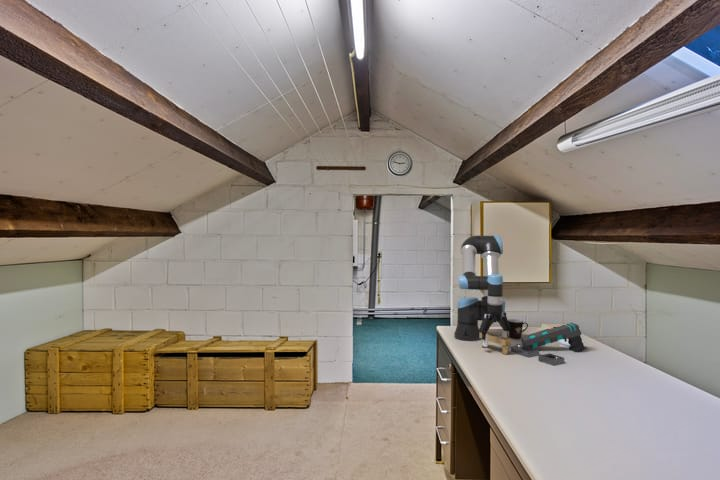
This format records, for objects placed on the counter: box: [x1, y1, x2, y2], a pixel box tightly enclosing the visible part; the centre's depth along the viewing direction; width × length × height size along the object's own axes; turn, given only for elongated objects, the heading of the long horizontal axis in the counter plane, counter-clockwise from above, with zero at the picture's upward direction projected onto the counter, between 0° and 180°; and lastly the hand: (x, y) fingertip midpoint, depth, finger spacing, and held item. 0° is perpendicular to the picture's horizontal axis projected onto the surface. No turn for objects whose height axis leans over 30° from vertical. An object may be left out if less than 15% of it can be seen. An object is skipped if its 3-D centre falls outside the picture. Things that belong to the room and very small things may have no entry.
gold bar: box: [479, 331, 512, 356], centre depth 213 cm, size 18×4×8 cm, turn 28°
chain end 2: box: [537, 353, 565, 366], centre depth 194 cm, size 8×8×3 cm
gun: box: [520, 322, 586, 353], centre depth 214 cm, size 7×29×15 cm, turn 87°
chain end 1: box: [509, 343, 540, 358], centre depth 208 cm, size 11×8×4 cm
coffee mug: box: [507, 318, 529, 340], centre depth 239 cm, size 12×9×10 cm
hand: (494, 344), depth 213 cm, fingers open, 13 cm apart
